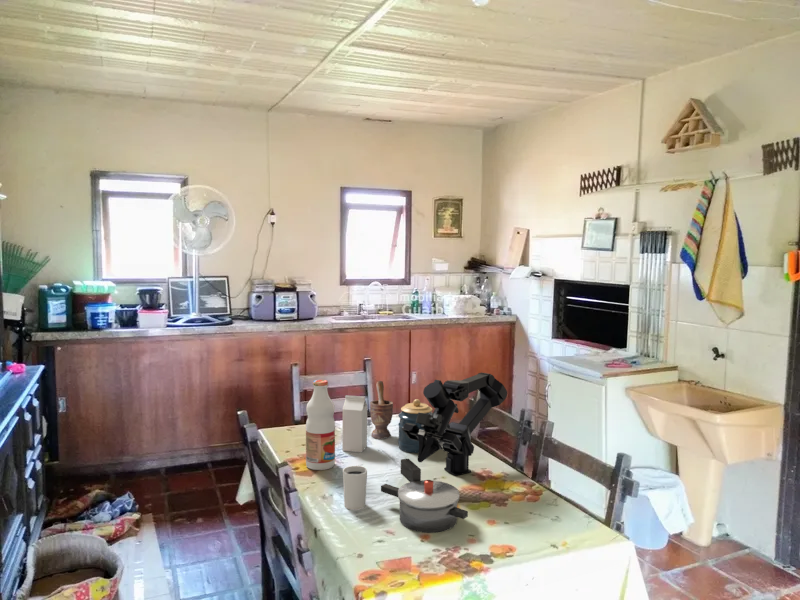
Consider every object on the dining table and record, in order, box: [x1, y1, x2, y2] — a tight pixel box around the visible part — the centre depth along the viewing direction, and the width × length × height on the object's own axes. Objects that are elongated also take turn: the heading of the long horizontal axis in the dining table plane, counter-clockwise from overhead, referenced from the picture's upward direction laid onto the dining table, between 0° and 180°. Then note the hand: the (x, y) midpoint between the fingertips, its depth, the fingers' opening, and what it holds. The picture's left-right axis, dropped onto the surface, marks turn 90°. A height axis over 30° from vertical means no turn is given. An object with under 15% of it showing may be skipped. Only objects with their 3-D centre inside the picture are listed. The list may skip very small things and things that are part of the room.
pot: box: [380, 483, 469, 534], centre depth 157 cm, size 15×27×6 cm, turn 51°
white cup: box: [342, 465, 368, 511], centre depth 164 cm, size 7×7×10 cm
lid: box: [397, 458, 460, 510], centre depth 160 cm, size 16×25×4 cm, turn 21°
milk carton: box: [341, 395, 368, 453], centre depth 210 cm, size 7×7×19 cm
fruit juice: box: [305, 379, 336, 471], centre depth 193 cm, size 9×9×28 cm
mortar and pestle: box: [369, 380, 394, 440], centre depth 226 cm, size 12×9×20 cm
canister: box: [397, 398, 434, 454], centre depth 212 cm, size 13×13×18 cm
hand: (419, 461), depth 174 cm, fingers closed
